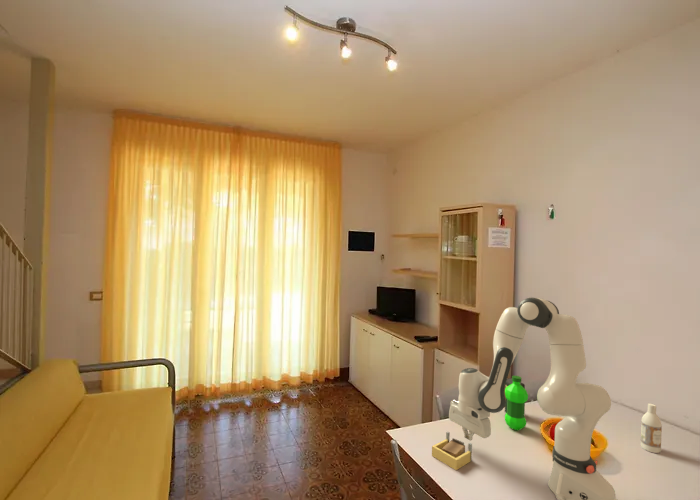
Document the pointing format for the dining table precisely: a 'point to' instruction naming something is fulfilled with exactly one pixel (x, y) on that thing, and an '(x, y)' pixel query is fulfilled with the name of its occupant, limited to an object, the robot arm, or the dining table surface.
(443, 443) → the bay
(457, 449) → the small brown box
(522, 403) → the plastic bottle
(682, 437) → the dining table surface
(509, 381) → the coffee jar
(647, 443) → the bath foam
